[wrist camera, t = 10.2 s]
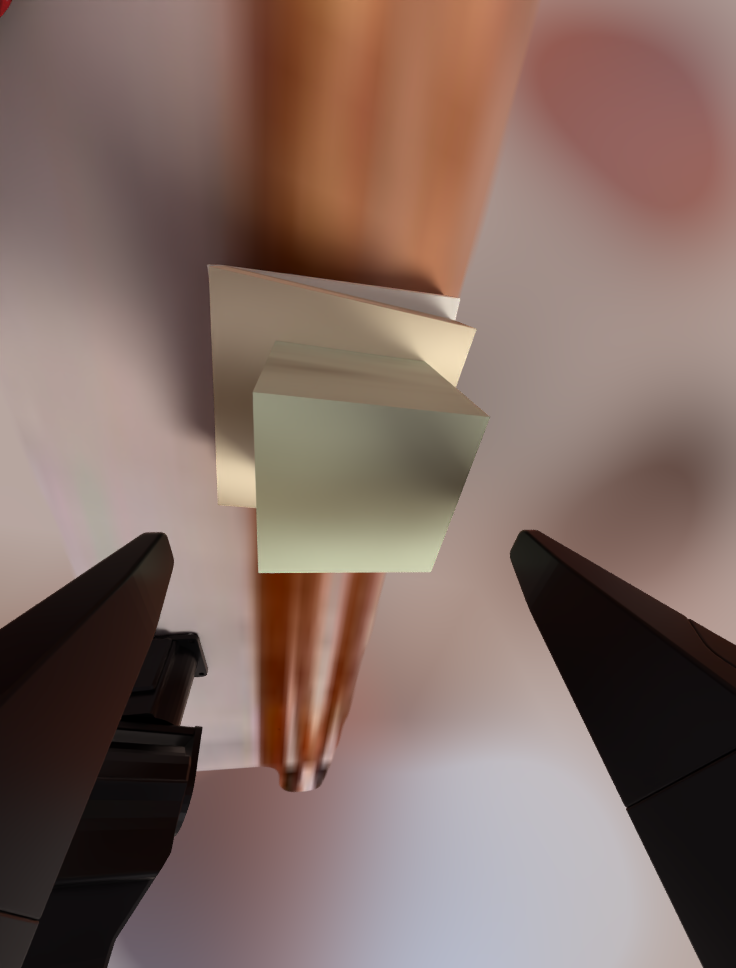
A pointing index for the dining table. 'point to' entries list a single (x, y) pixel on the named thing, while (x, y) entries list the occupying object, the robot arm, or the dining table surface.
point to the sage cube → (357, 460)
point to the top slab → (309, 321)
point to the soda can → (4, 6)
